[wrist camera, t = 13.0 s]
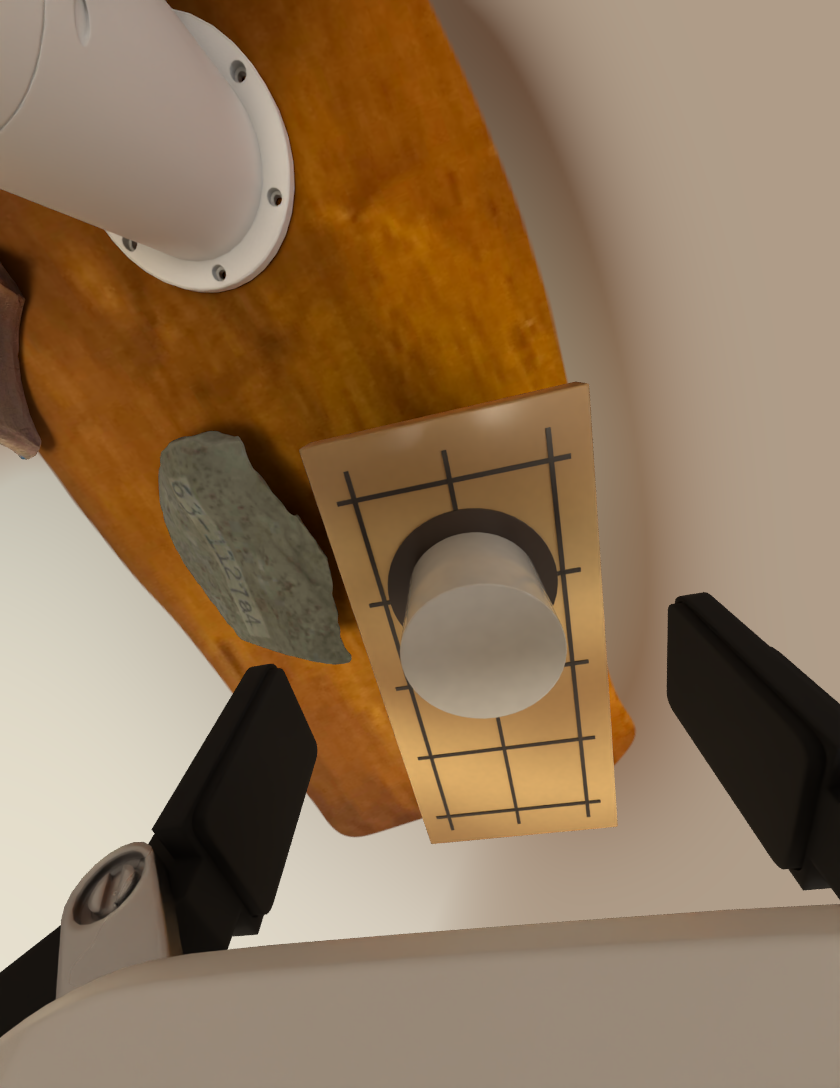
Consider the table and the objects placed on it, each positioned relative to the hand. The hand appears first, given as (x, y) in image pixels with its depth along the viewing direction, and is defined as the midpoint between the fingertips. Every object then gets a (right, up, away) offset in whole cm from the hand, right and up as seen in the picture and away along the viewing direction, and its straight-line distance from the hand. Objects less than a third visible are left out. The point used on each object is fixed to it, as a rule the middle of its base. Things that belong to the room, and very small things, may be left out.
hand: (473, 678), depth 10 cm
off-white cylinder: (+1, +2, +5) cm, 5 cm away
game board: (+2, +5, +23) cm, 23 cm away
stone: (-15, +3, +25) cm, 29 cm away
